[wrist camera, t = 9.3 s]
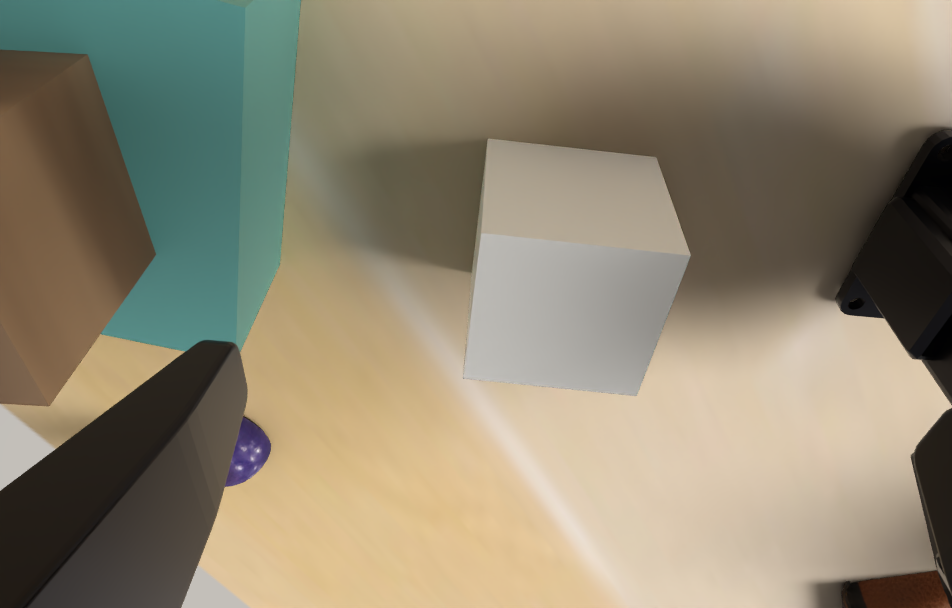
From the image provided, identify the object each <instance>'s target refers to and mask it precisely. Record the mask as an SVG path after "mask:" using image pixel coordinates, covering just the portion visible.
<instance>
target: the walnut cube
mask: <svg viewBox="0 0 952 608" xmlns="http://www.w3.org/2000/svg"><path fill="white" fill-rule="evenodd" d="M155 256H156V252H155V250H154V247H153V244H152V241H151V238H150V235H149V232H148V229H147V226H146V223H145V220H144V217H143V214H142V212H141V209H140V206H139V203H138V200H137V197H136V194H135V191H134V188H133V185H132V182H131V179H130V176H129V174H128V171H127V168H126V165H125V162H124V159H123V156H122V153H121V150H120V147H119V144H118V141H117V138H116V136H115V133H114V130H113V127H112V124H111V121H110V118H109V115H108V112H107V109H106V106H105V103H104V100H103V98H102V95H101V92H100V89H99V86H98V83H97V80H96V77H95V74H94V71H93V68H92V65H91V62H90V60H89V57H88V54H74V53H55V52H37V51H18V50H0V404H18V405H35V406H50V404H51V403H52V402H53V400H54V399H55V397H56V396H57V395H58V393H59V392H60V390H61V389H62V387H63V386H64V385H65V383H66V382H67V380H68V379H69V378H70V376H71V375H72V373H73V372H74V370H75V369H76V368H77V366H78V365H79V363H80V362H81V361H82V359H83V358H84V356H85V355H86V354H87V352H88V351H89V349H90V348H91V346H92V345H93V344H94V342H95V341H96V339H97V338H98V337H99V335H100V334H101V332H102V331H103V329H104V328H105V327H106V325H107V324H108V322H109V321H110V320H111V318H112V317H113V315H114V314H115V313H116V311H117V310H118V308H119V307H120V305H121V304H122V303H123V301H124V300H125V298H126V297H127V296H128V294H129V293H130V291H131V290H132V288H133V287H134V286H135V284H136V283H137V281H138V280H139V279H140V277H141V276H142V274H143V273H144V271H145V270H146V269H147V267H148V266H149V264H150V263H151V262H152V260H153V259H154V257H155Z"/></svg>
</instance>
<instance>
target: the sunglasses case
mask: <svg viewBox="0 0 952 608" xmlns="http://www.w3.org/2000/svg"><path fill="white" fill-rule="evenodd" d="M841 596H842V605H843V608H951V607H950V605H949V602H948V599H947V595H946V594H945V592H944V590H943V587H942V584H941V581H940V578H939V575H938V572H937V571H931V572H925V573H916V574H908V575H902V576H894V577H887V578H881V579H872V580H866V581H860V582H855V583H850V582H849V581H846V582H845V584H844V587H843V590H842V592H841Z"/></svg>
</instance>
